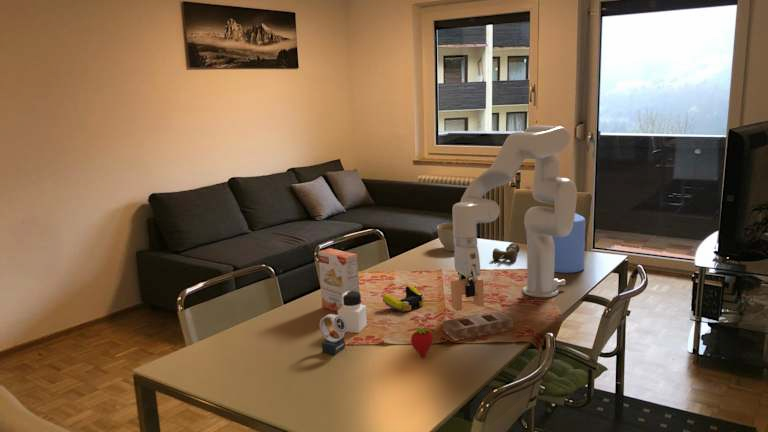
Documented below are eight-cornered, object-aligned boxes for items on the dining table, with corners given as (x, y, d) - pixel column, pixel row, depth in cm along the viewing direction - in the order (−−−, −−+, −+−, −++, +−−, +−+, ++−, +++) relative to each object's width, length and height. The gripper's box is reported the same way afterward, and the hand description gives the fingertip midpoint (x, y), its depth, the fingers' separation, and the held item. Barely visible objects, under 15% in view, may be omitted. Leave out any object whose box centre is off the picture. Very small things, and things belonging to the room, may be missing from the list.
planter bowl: (436, 253, 282) (435, 230, 280) (438, 244, 298) (438, 222, 295) (471, 253, 279) (471, 230, 277) (472, 244, 295) (472, 222, 293)
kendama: (525, 255, 275) (511, 266, 258) (504, 254, 280) (488, 264, 262) (524, 242, 274) (510, 252, 257) (503, 241, 278) (488, 251, 261)
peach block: (478, 301, 208) (477, 276, 206) (484, 305, 204) (483, 279, 202) (451, 307, 204) (450, 281, 202) (456, 310, 201) (455, 284, 199)
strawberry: (407, 360, 174) (406, 327, 172) (418, 349, 181) (417, 317, 179) (426, 363, 172) (425, 329, 170) (437, 353, 178) (436, 320, 176)
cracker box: (321, 308, 219) (317, 251, 215) (333, 303, 223) (330, 247, 219) (348, 316, 209) (345, 257, 205) (361, 311, 214) (358, 253, 209)
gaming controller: (380, 309, 215) (401, 316, 208) (379, 294, 214) (400, 300, 207) (409, 297, 226) (430, 303, 219) (409, 283, 225) (430, 288, 218)
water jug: (588, 265, 255) (590, 198, 249) (578, 275, 242) (579, 205, 236) (551, 260, 263) (552, 196, 257) (539, 270, 250) (539, 202, 244)
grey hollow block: (499, 321, 200) (499, 310, 199) (512, 329, 192) (512, 319, 192) (443, 331, 193) (443, 321, 193) (454, 341, 186) (454, 330, 185)
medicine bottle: (367, 325, 201) (365, 290, 199) (359, 333, 195) (357, 297, 192) (346, 323, 204) (344, 288, 201) (338, 331, 197) (336, 295, 195)
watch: (340, 356, 179) (338, 320, 177) (317, 351, 183) (315, 316, 180) (350, 349, 184) (348, 314, 181) (328, 344, 188) (325, 310, 185)
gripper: (488, 244, 193) (490, 300, 197) (464, 233, 208) (466, 285, 212) (466, 248, 191) (468, 304, 195) (443, 236, 206) (446, 289, 210)
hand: (467, 294), depth 203 cm, fingers closed on peach block, 3 cm apart
